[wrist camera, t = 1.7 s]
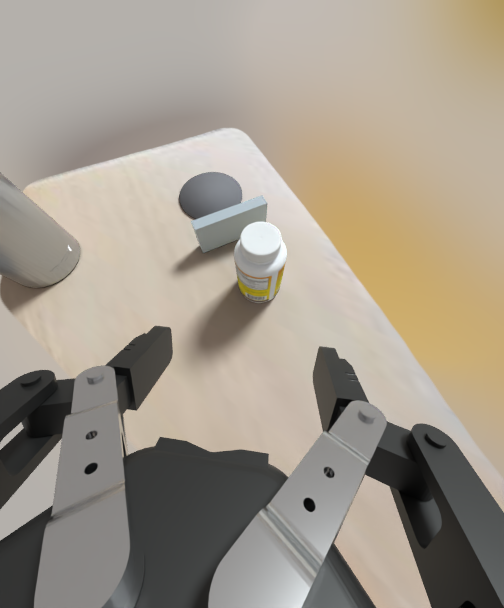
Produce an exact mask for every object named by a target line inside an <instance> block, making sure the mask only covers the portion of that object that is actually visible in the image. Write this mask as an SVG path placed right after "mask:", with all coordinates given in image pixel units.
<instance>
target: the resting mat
mask: <svg viewBox="0 0 504 608" xmlns="http://www.w3.org/2000/svg"><path fill="white" fill-rule="evenodd" d="M179 199H180V204H181V206H182V208H183V210H184V211H185V212H186V213H187V214H188V215H190V216H191V217H193V218H195V219H198V218H201V217H204V216H207V215H209V214H212V213H215V212H218V211H220V210H223V209H226V208H229V207H231V206H234V205H237V204H240V203H241V200H242V190H241V187H240V185H239V183H238V182H237V181H236V180H235V179H234V178H232V177H230V176H229V175H226V174H223V173H218V172H208V173H203V174H199V175H197V176H195V177H193V178H191V179H190V180H188V181H187V182H186V183H185V184H184V186H183V187H182V189H181V191H180V196H179Z"/></svg>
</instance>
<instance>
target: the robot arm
mask: <svg viewBox="0 0 504 608" xmlns="http://www.w3.org/2000/svg"><path fill="white" fill-rule="evenodd" d="M79 257H80V246H79V244H78V242H77V240H76V239H75V238H74V237H73V236H72V235H70V234H69V233H68V232H67V231H66V230H65V229H64V228H63V227H61V226H60V225H59V224H58V223H57V222H56V221H55V220H54V219H53V218H51V217H50V216H49V215H48V214H47V213H46V212H45V211H43V210H42V209H41V208H40V207H39V206H38V205H37V204H36V203H34V202H33V201H32V200H31V199H30V198H29V197H28V196H26V195H25V194H24V193H23V192H22V191H21V190H20V189H18V188H17V187H16V186H15V185H14V184H13V183H12V182H11V181H9V180H8V179H7V178H6V177H5V176H4V175H3V174H1V173H0V274H1V275H3V276H5V277H7V278H9V279H11V280H13V281H15V282H17V283H19V284H22V285H24V286H27V287H32V288H39V287H45V286H49V285H52V284H54V283H56V282H58V281H60V280H62V279H63V278H65V277H66V276H67V275H68V274H69V273H70V272H71V271H72V270H73V269H74V267H75V266H76V264H77V262H78V260H79ZM172 353H173V350H172V335H171V329H170V328H169V327H162V326H154V327H153V328H152V329H151V330H150V331H149V332H148V333H147V334H145V333H144V334H142V335H140V336H138V337H136V338H135V339H133V340H132V341H131V342H130V343H129V345H127V346H126V347H125V348H124V349H123V350H121V351H120V352H119V353H118V354H117V355H116V356H115V357H114V358H113V359H112V360H111V361H110V362H108V363H107V364H106V365H105V366H96V367H92V368H90V369H87V370H85V371H83V372H82V373H80V374H79V375H78V376H77V377H76V379H65V380H56V378H55V375H54V373H53V372H52V371H49V370H39V371H34V372H30V373H27V374H24V375H22V376H20V377H18V378H16V379H15V380H13V381H12V382H11V383H9V384H8V385H7V386H5V387H4V388H2V389H1V390H0V442H1V440H2V439H3V438H4V437H5V436H6V435H7V434H8V433H9V432H10V431H12V430H13V429H14V428H15V427H16V426H17V425H18V424H19V423H20V422H22V425H23V427H24V429H23V430H21V431H20V432H19V433H18V434H17V435H16V436H15V437H14V438H13V439H12V440H11V441H10V442H9V443H8V444H6V445H5V446H4V447H3V448H2V449H1V450H0V509H1V508H2V506H4V504H5V503H6V502H7V501H8V500H9V499H10V497H11V496H12V495H13V494H14V493H15V492H16V491H17V489H18V488H19V487H20V486H21V485H22V484H23V482H24V481H25V480H26V479H27V478H28V477H29V475H30V474H31V473H32V472H33V471H34V470H35V468H36V467H37V466H38V465H39V464H40V463H41V461H42V460H43V459H44V458H45V457H46V456H47V455H48V453H49V452H50V451H51V450H52V449H53V448H54V446H55V445H56V444H57V443H58V442H59V441H60V439H61V438H62V442H61V450H60V457H59V464H58V472H57V479H56V487H55V494H54V501H53V506H51V507H50V508H48V509H47V510H45V511H44V512H42V513H41V514H39V515H38V516H36V517H35V518H33V519H32V520H30V521H29V522H27V523H26V524H25V525H23V526H21V527H20V528H18V529H17V530H15V531H14V532H13V533H11V534H10V535H8V536H7V537H5V538H4V539H2V540H1V541H0V608H376V607H375V605H374V604H373V602H372V601H371V599H370V598H369V596H368V594H367V593H366V591H365V590H364V588H363V587H362V585H361V584H360V582H359V581H358V579H357V578H356V576H355V575H354V573H353V572H352V570H351V568H350V567H349V565H348V564H347V562H346V561H345V559H344V558H343V556H342V555H341V553H340V552H339V550H338V549H337V547H336V546H335V544H334V542H335V540H336V538H337V535H338V533H339V531H340V529H341V526H342V524H343V522H344V520H345V517H346V515H347V513H348V511H349V509H350V506H351V504H352V502H353V500H354V498H355V496H356V493H357V491H358V489H359V487H360V485H361V482H362V480H363V478H364V476H365V475H367V476H369V477H371V478H374V479H376V480H378V481H380V482H382V483H384V484H386V485H388V486H390V489H391V492H392V495H393V498H394V501H395V503H396V506H397V509H398V512H399V515H400V518H401V521H402V524H403V526H404V529H405V532H406V535H407V538H408V541H409V544H410V547H411V550H412V552H413V555H414V558H415V561H416V564H417V567H418V570H419V573H420V575H421V578H422V581H423V584H424V587H425V590H426V593H427V596H428V598H429V601H430V604H431V607H432V608H504V513H503V511H502V510H501V508H500V507H499V505H498V504H497V502H496V501H495V500H494V498H493V497H492V495H491V494H490V492H489V491H488V489H487V488H486V487H485V485H484V484H483V482H482V481H481V479H480V478H479V476H478V475H477V473H476V472H475V471H474V469H473V468H472V466H471V465H470V463H469V462H468V460H467V459H466V458H465V456H464V455H463V453H462V452H461V450H460V449H459V447H458V446H457V445H456V443H455V442H454V441H453V440H452V439H451V438H450V437H449V436H448V435H446V434H445V433H444V432H442V431H441V430H439V429H437V428H435V427H433V426H430V425H427V424H416V425H414V426H413V428H412V430H411V431H410V430H407V429H404V428H402V427H399V426H397V425H394V424H392V423H389V422H388V421H386V418H385V416H384V414H383V413H382V412H381V411H380V410H379V409H378V408H377V407H375V406H374V405H372V404H370V403H369V402H368V400H367V397H366V395H365V393H364V391H363V389H362V387H361V385H360V382H359V381H358V378H357V376H356V375H355V372H354V370H353V367H352V366H351V365H350V364H349V363H348V362H347V361H346V360H345V359H339V357H338V354H337V352H336V349H335V348H329V347H319V349H318V353H317V358H316V362H315V366H314V371H313V384H314V389H315V394H316V399H317V404H318V409H319V414H320V419H321V424H322V428H323V433H322V434H321V435H320V437H319V438H318V439H317V441H316V442H315V443H314V445H313V446H312V447H311V449H310V450H309V451H308V453H307V454H306V455H305V457H304V458H303V459H302V461H301V462H300V463H299V465H298V466H297V467H296V469H295V470H294V471H293V473H292V474H291V475H290V477H287V476H286V475H285V474H284V473H283V472H282V471H280V470H279V469H277V468H276V467H274V466H272V465H270V464H268V455H269V454H266V453H260V452H254V451H247V450H233V451H223V452H209V451H207V450H205V449H202V448H200V447H198V446H196V445H194V444H191V443H189V442H187V441H182V440H176V439H169V438H163V437H160V438H159V440H158V442H157V444H156V446H155V447H149V448H144V449H141V450H138V451H136V452H134V453H131V454H130V455H128V449H127V441H126V433H125V425H124V417H123V414H124V412H125V411H126V410H127V409H130V410H136V411H137V409H138V408H139V407H140V405H141V404H142V402H143V401H144V399H145V398H146V396H147V395H148V394H149V392H150V391H151V389H152V388H153V386H154V385H155V383H156V382H157V380H158V379H159V378H160V376H161V375H162V373H163V372H164V370H165V369H166V367H167V366H168V365H169V363H170V361H171V359H172Z"/></svg>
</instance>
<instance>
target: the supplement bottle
mask: <svg viewBox="0 0 504 608" xmlns="http://www.w3.org/2000/svg"><path fill="white" fill-rule="evenodd" d="M286 257H287V250H286V246H285V244H284V242H283V241H282V238H281V234H280V231H279V230H278V229H277V228H276V227H275V226H274V225H272V224H270V223H267V222H254V223H251V224H249V225H248V226H246V227H245V228H244V230H243V231H242V233H241V236H240V239H239V241H238V242H237V244H236V246H235V249H234V259H235V265H236V272H237V278H238V285H239V289H240V291H241V293H242V295H243V296H244V297H245V298H246V299H248V300H250V301H252V302H256V303H263V302H267V301H269V300H271V299H273V298H274V297H275V296H276V294H277V293H278V291H279V288H280V284H281V280H282V276H283V271H284V267H285V262H286Z"/></svg>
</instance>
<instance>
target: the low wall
mask: <svg viewBox="0 0 504 608" xmlns="http://www.w3.org/2000/svg"><path fill="white" fill-rule="evenodd" d="M266 214H267V202H266V200H265V199H264V197H263V196H259V197H256V198H253V199H251V200H248V201H245V202H242V203H240V204H237V205H234V206H231V207H229V208H226V209H223V210H220V211H218V212H215V213H212V214H209V215H207V216H204V217H201V218H198V219H196V220H193V221H191V223H192V226H193V228H194V231H195V234H196V237H197V240H198V242H199V245H200V247H201V249H202V252H203V253H205V252H207V251H210V250H213V249H215V248H218V247H220V246H223V245H225V244H228V243H230V242H233V241H236V240H238V239H240V236H241V233H242V231H243V230H244V228H245V227H246V226H248V225H249V224H251V223H254V222H266Z"/></svg>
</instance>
